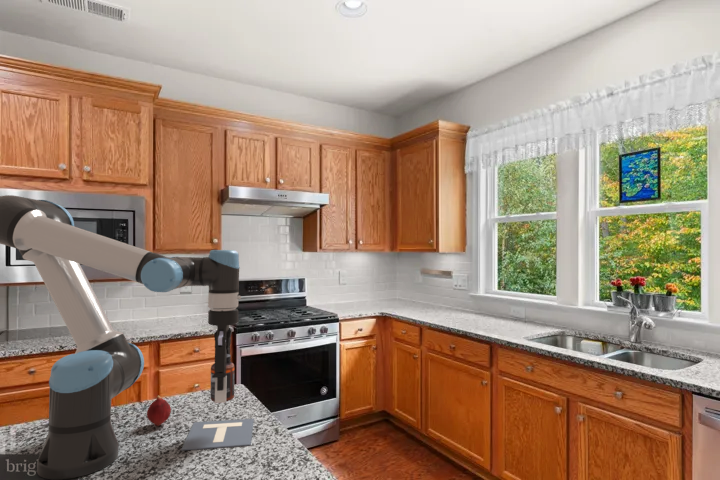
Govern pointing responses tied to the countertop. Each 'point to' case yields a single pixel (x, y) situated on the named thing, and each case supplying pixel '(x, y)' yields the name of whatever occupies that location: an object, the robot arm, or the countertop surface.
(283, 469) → the countertop surface
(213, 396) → the supplement bottle
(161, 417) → the onion
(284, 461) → the countertop surface
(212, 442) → the letter card
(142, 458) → the countertop surface
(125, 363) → the robot arm
